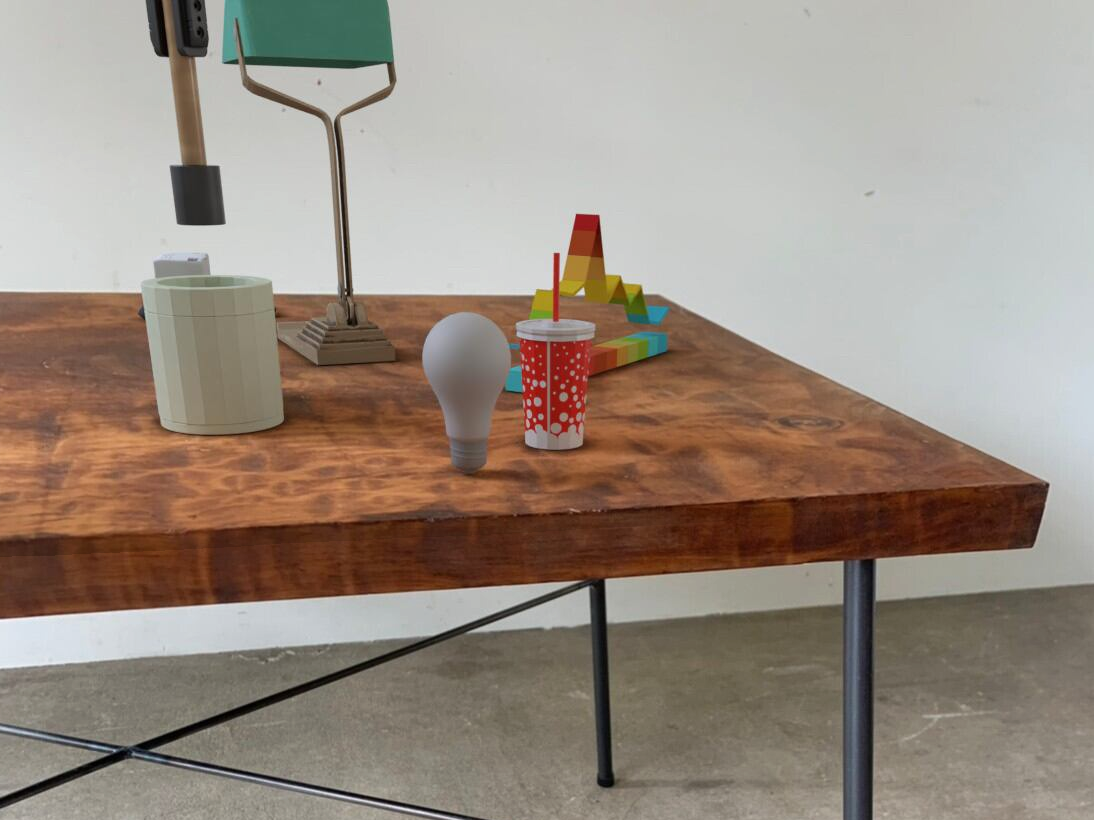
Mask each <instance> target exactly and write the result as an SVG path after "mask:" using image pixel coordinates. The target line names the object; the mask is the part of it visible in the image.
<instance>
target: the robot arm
mask: <svg viewBox="0 0 1094 820" xmlns="http://www.w3.org/2000/svg"><path fill="white" fill-rule="evenodd" d="M171 4H172V12H173V20H174V29H175V37H176V46H177V51H178V53H179V54H180V55H181V56H186V57H195V58H205V57H206V56H207V55H208V48H209V41H210V37H209V36H210V35H209V30H208V29H209V27H208V18H207V17H208V16H207V8H206V0H171ZM145 5H146V7H145V8H146V15H147V23H148V29H149V39H150V43H151V45H152V47H153V51H154V53H155V55H156V56H157V57H159V58H168V59H169V54H168V46H167V37H166V29H165V21H164V13H163V5H162V0H145Z"/></svg>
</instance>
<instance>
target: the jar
mask: <svg viewBox="0 0 1094 820" xmlns="http://www.w3.org/2000/svg"><path fill="white" fill-rule="evenodd" d="M140 289H141V297H142V303H143V304H142V305H144V309H145V310H144V312H145V319H144V320H145V325H146V333H147V340H148V347H149V353H150V361H151V369H152V375H153V382H154V390H155V391H154V392H155V395H156V396H155V397H156V405H157V409H158V410H157V411H158V416H159V421H160V425H161V426H162V427H163V428H164V429H165V430H168V431H171V432H174V433H175V432H176V433H178V434H179V433H180V434H188V435H200V436H220V435H221V436H222V435H223V436H225V435H226V436H227V435H239V434H247V433H248V434H249V433H254V432H260V431H264V430H269V429H272V428H274V427H277V426H279V425H281V424H282V423H284V420H285V416H284V415H285V414H284V399H283V398H284V397H283V387H282V377H281V367H280V365H281V364H280V355H279V344H278V333H277V322H276V312H275V310H274V307H275V299H274V290H273V281H272V280H271V279H268V278H265V277H260V276H253V275H252V276H250V275H237V274H232V275H231V274H210V275H190V276H172V277H162V278H155V277H154V278H149V279H145V280H143V281H142V282H140Z"/></svg>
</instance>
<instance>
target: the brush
mask: <svg viewBox="0 0 1094 820" xmlns="http://www.w3.org/2000/svg"><path fill="white" fill-rule="evenodd" d="M162 5H163V13H164V21H165V29H166V37H167V46H168V54H169V58H168V62H169V70H170V77H171V79H170V80H171V85H172V93H173V94H172V95H173V102H174V111H175V119H176V127H177V135H178V143H179V152H180V160H181V164H170V165H169V174H170V180H171V189H172V196H173V204H174V212H175V220H176V225H178V226H189V227H191V226H196V227H197V226H198V227H202V226H203V227H205V226H206V227H207V226H210V227H211V226H222V225H223V226H225V225H226V224H227V221H226V214H225V212H226V211H225V203H224V202H225V201H224V194H223V185H222V176H221V167H220V165H219V164H218V165H216V164H208V162H207V152H206V144H205V143H206V142H205V135H204V125H203V116H202V109H201V100H200V98H201V97H200V89H199V81H198V72H197V65H196V57H186V56H181V55H180V54H179V53H178V51H177V46H176V37H175V29H174V20H173V12H172V4H171V0H162Z"/></svg>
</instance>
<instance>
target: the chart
mask: <svg viewBox="0 0 1094 820" xmlns="http://www.w3.org/2000/svg"><path fill="white" fill-rule="evenodd" d="M564 264H565V265H564V269H563V275H562V279H561V280H559V299H560V298H561V297H562V298H574V297H575V296H576V295H577V294H578V293H579V292H580V291H582V290H583V291H584V299H585V302H587V303H598V304H612V305H623V307H624V310H625V316H626V319H627V322H628V323H632V324H633V323H634V324H642V325H652V326H660V325H661V323H662V322H663V320H664V319H665V317H666V316H667V315H668V313H669V311H670V307H669V306H661V305H650V304H649V305H647V303H646V300H645V299H646V298H645V293H644V290H643V285H642V284H637V283H626V282H625V283H624V281H623V278H622V275H619V274H607V273H606V266H605V256H604V246H603V238H602V227H601V217H600V214H589V213H575V217H574V221H573V227H572V231H571V236H570V241H569V245H568V250H567V255H566V260H565V263H564ZM583 288H584V289H583ZM534 293H535V294H534V298H533V301H532V306H531V309H530V313H529V317H528V320H534V319H553V288H551V289H542V288H541V289H539V288H536V290H535V292H534ZM668 337H669V334H668V333H664V332H655V331H642V332H641V331H640V332H638V333H634V334H630V335H627V336H624V337H623V336H622V337H620V338H616V339H612V340H609V341H605V342H601V343H599V344H595V345H591V348H590V360H589V371H588V377H590V376H593V375H596V374H600V373H603V372H606V371H610V370H612V369H615V368H618V367H622V366H625V365H628V364H631V363H634V362H637V361H640V360H643V359H646V358H649V357H650V358H651V357H653V356H656V355H658V354H663V353H665V352H667V351H668ZM508 344H509V348H510V349H515V350H520V344H514V343H508ZM505 391H507V392H517V393H523V390H522V372H521V365H518V366H514V367H511V368H510V372H509V376H508V378H507V380H506V383H505Z"/></svg>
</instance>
